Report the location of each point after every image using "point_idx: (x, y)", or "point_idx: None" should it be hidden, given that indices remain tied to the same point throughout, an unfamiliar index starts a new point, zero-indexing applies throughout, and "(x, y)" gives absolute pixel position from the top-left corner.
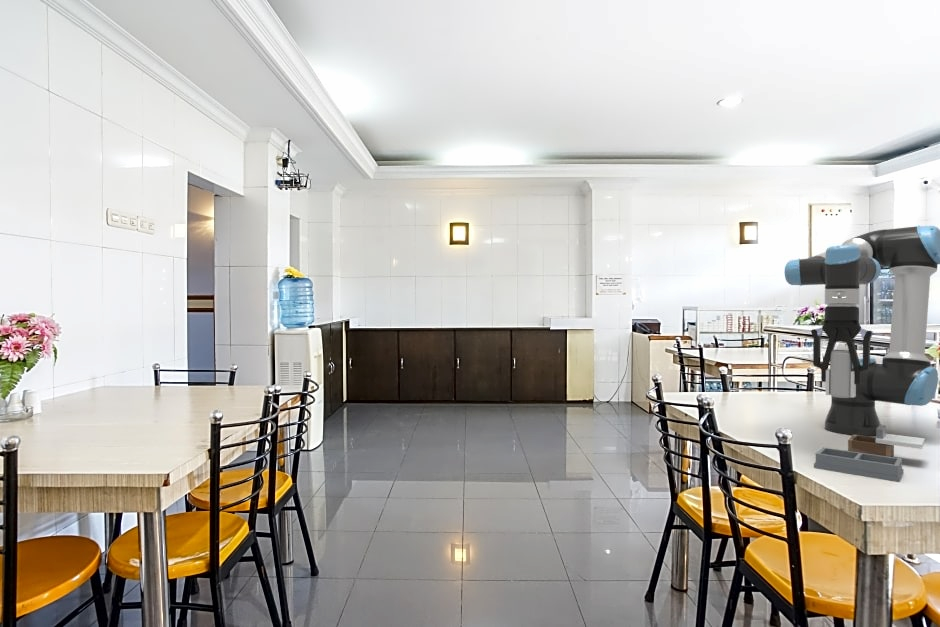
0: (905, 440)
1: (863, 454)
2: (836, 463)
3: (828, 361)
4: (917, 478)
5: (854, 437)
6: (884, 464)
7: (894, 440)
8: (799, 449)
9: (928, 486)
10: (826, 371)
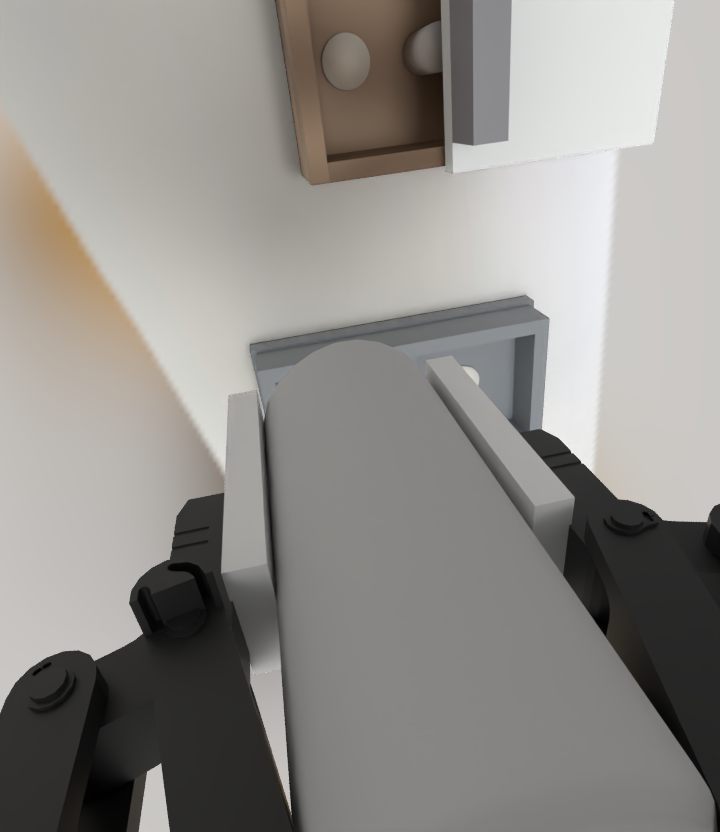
0: (588, 71)
1: (418, 354)
2: None
3: (278, 776)
4: (565, 329)
5: (311, 49)
6: None
7: (538, 128)
8: (62, 192)
9: (589, 401)
10: (260, 656)
